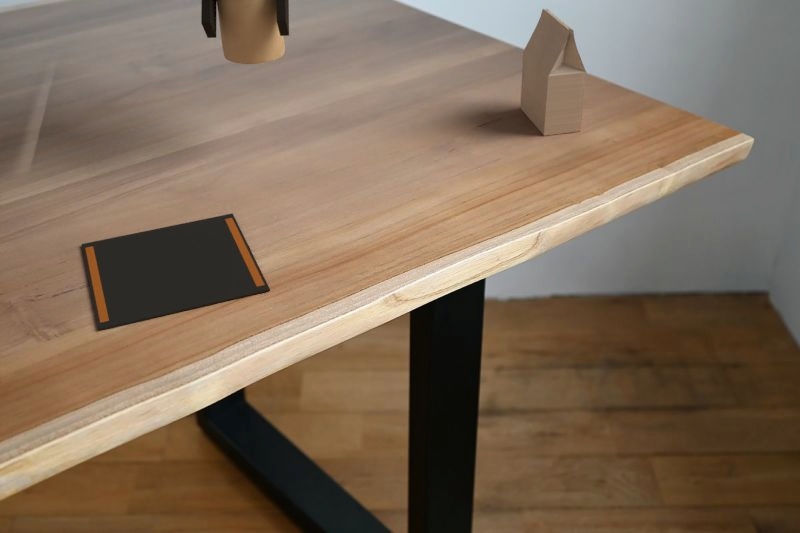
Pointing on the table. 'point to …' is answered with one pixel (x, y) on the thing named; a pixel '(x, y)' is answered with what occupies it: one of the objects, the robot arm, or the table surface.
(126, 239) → the mat
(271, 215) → the table surface
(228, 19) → the candle
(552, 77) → the tan gable-top carton
